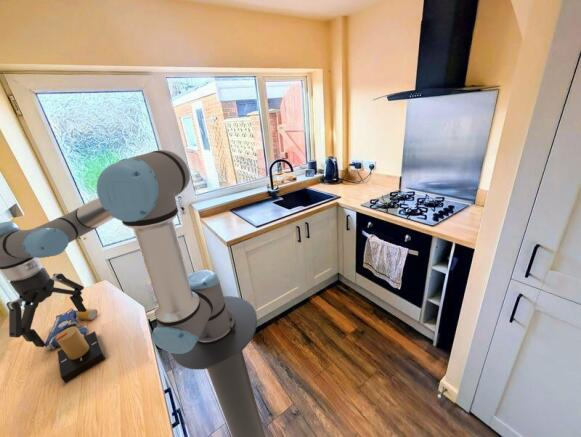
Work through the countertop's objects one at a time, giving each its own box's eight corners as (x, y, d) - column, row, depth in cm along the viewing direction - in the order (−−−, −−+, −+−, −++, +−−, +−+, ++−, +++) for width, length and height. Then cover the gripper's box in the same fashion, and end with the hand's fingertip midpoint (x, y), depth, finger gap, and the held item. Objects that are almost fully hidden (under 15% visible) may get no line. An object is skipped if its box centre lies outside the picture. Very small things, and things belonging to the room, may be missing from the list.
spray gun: (102, 304, 110) (61, 319, 104) (97, 297, 108) (55, 311, 103) (93, 338, 93) (43, 358, 88) (88, 331, 91) (37, 350, 86)
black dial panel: (106, 358, 84) (102, 352, 83) (65, 383, 77) (60, 377, 76) (98, 336, 93) (94, 330, 92) (61, 357, 87) (57, 351, 85)
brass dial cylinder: (84, 342, 88) (72, 323, 84) (92, 348, 85) (80, 329, 81) (66, 355, 83) (52, 336, 79) (73, 362, 81) (59, 342, 77)
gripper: (-20, 306, 59) (29, 364, 67) (77, 250, 81) (105, 299, 90) (-42, 305, 60) (9, 362, 69) (59, 250, 82) (88, 299, 91)
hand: (63, 327), depth 79 cm, fingers open, 13 cm apart
